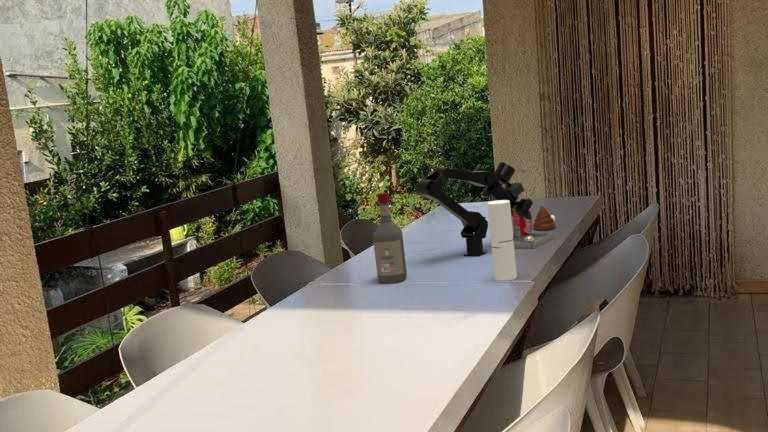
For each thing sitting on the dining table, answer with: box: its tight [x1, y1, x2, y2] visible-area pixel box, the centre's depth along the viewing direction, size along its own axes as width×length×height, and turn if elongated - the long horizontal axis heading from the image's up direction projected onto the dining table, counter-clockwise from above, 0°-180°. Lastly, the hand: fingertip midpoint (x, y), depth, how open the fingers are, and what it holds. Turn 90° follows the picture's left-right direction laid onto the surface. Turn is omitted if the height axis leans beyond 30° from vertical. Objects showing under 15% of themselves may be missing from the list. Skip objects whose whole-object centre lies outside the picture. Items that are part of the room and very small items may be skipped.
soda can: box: [512, 207, 533, 237], centre depth 326 cm, size 7×7×12 cm
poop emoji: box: [532, 205, 556, 232], centre depth 347 cm, size 10×8×9 cm
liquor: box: [372, 192, 408, 285], centre depth 289 cm, size 9×9×30 cm
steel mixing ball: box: [524, 235, 534, 243], centre depth 318 cm, size 4×4×4 cm
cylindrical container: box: [487, 200, 518, 282], centre depth 274 cm, size 7×7×25 cm
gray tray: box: [513, 232, 555, 250], centre depth 325 cm, size 18×16×2 cm
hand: (524, 217), depth 327 cm, fingers closed on soda can, 7 cm apart
